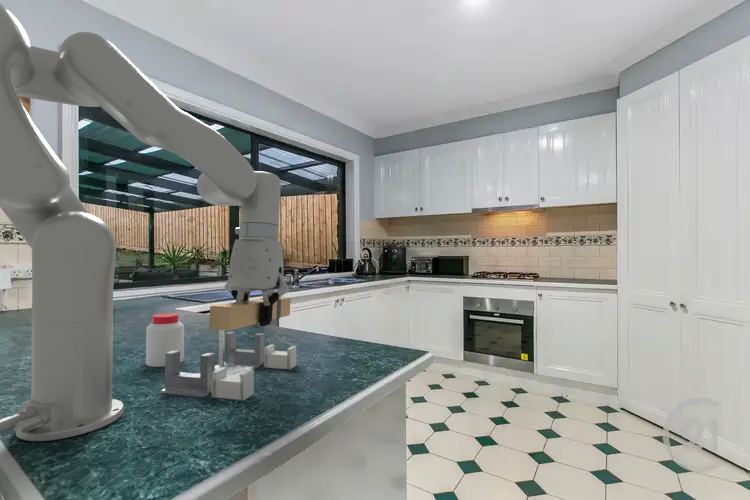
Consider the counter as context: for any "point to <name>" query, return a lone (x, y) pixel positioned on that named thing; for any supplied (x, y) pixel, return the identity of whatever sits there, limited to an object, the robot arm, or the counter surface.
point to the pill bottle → (164, 338)
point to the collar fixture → (212, 366)
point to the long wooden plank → (244, 313)
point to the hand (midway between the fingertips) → (254, 323)
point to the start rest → (249, 375)
